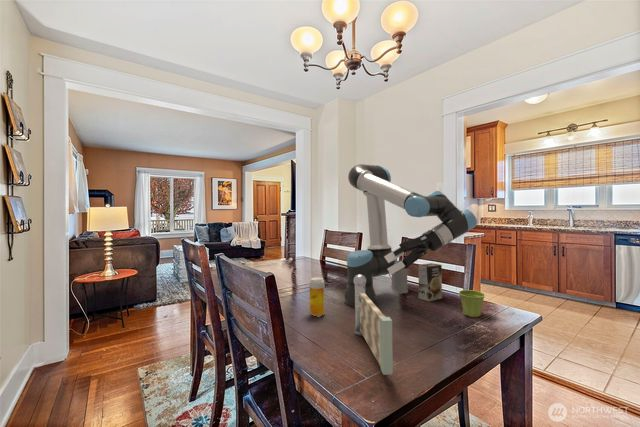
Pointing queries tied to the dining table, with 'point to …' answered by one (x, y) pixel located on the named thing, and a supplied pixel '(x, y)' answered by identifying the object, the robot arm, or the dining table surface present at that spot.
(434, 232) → the robot arm
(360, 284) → the gate post
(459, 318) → the dining table surface
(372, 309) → the gate panel
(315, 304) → the orange and white cylinder
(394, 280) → the glass holder
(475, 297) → the plant pot
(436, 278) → the coffee box
